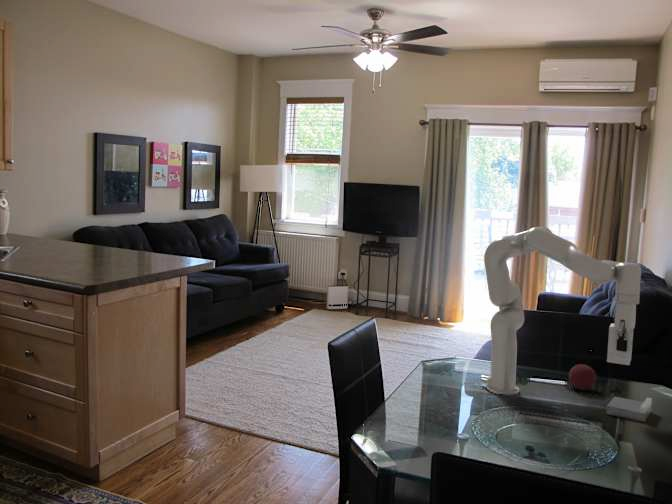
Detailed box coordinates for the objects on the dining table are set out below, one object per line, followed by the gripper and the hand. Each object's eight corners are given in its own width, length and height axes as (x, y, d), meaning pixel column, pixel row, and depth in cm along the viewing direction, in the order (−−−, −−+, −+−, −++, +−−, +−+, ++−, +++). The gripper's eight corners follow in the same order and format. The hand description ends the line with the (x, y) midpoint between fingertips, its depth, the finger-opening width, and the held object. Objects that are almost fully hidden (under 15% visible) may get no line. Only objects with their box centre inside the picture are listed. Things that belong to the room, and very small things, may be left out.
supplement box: (630, 365, 202) (632, 329, 201) (606, 362, 206) (608, 326, 204) (631, 360, 208) (634, 325, 207) (608, 357, 212) (610, 322, 211)
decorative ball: (568, 384, 240) (570, 359, 239) (595, 387, 236) (597, 363, 235) (567, 391, 231) (568, 366, 230) (595, 395, 226) (596, 369, 225)
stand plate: (606, 413, 207) (607, 400, 207) (614, 404, 217) (615, 391, 216) (644, 422, 200) (645, 407, 200) (650, 412, 210) (651, 398, 209)
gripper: (621, 294, 213) (618, 342, 215) (608, 300, 200) (606, 351, 201) (644, 296, 209) (641, 345, 210) (633, 303, 195) (630, 355, 197)
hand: (624, 348), depth 206 cm, fingers closed on supplement box, 7 cm apart
